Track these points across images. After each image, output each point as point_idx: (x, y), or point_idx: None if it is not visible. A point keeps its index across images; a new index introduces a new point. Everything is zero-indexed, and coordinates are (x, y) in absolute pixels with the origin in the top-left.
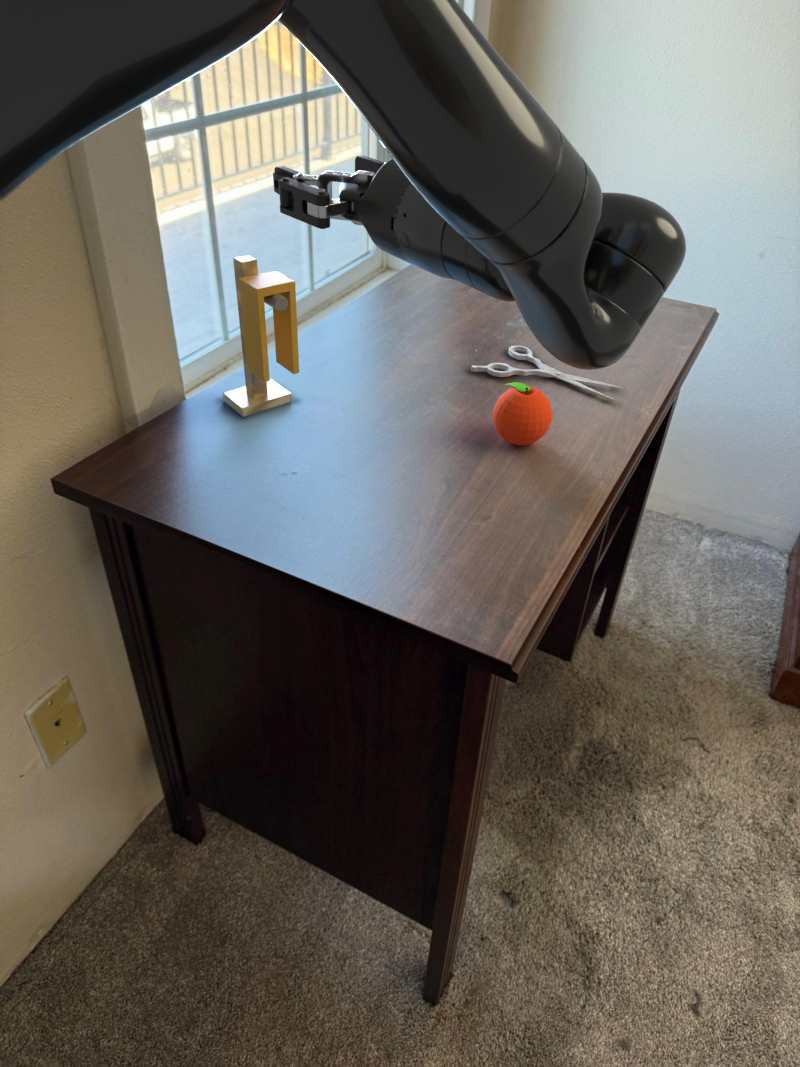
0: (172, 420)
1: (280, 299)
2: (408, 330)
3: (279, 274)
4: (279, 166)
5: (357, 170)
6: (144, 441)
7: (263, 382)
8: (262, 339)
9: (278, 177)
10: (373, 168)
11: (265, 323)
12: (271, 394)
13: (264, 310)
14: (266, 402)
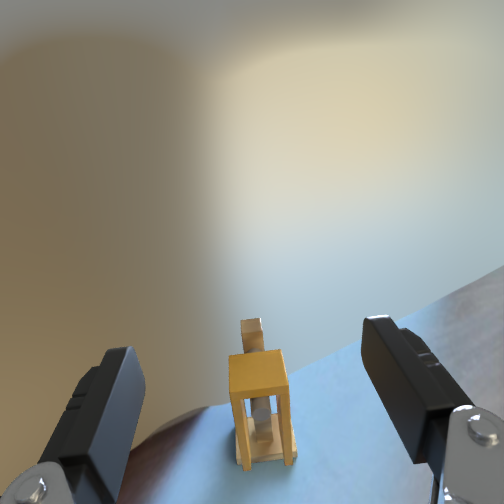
0: (178, 438)
1: (259, 410)
2: (468, 367)
3: (278, 361)
4: (114, 351)
5: (366, 347)
6: (136, 465)
7: (268, 432)
8: (239, 436)
9: (71, 402)
10: (405, 393)
11: (243, 423)
12: (276, 443)
13: (241, 411)
14: (265, 456)
